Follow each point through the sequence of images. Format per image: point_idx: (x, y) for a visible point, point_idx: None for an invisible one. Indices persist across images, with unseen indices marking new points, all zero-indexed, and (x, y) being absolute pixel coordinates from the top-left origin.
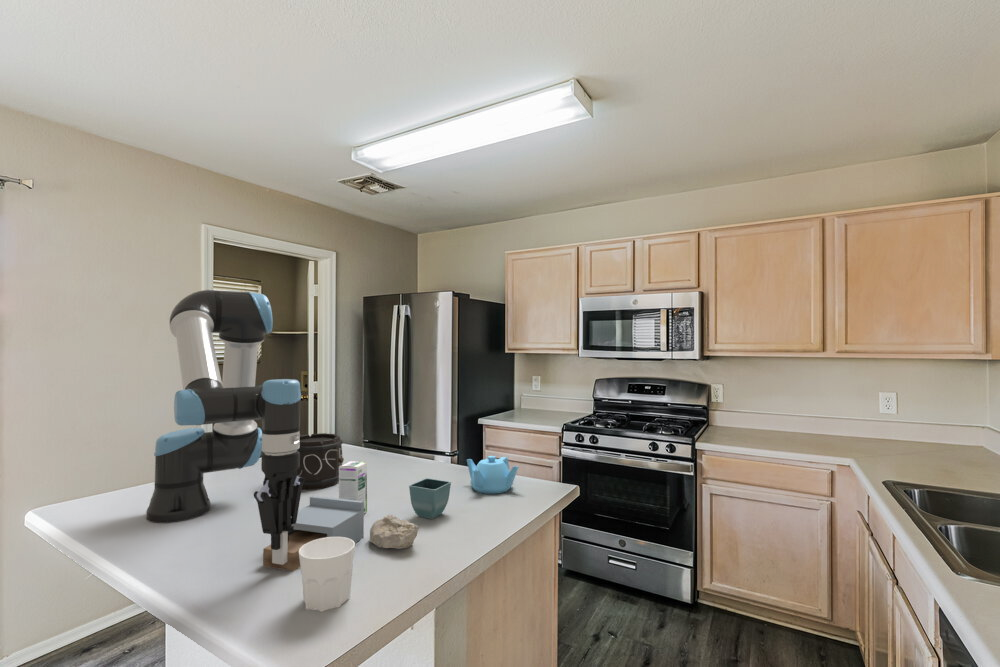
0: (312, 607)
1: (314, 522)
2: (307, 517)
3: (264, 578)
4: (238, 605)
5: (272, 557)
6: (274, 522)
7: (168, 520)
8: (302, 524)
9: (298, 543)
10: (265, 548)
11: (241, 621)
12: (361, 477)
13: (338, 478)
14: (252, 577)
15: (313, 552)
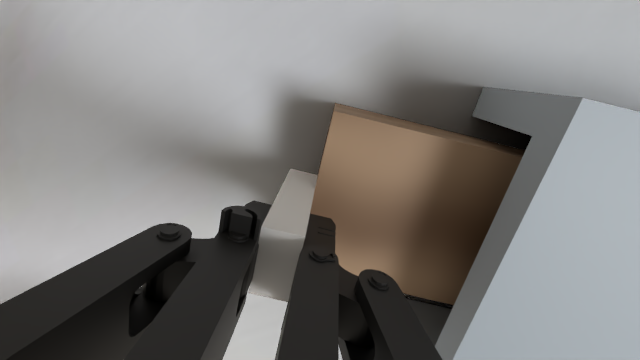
0: None
1: (506, 334)
2: (610, 271)
3: (240, 160)
4: (72, 169)
5: (287, 176)
6: (126, 349)
7: None
8: (488, 281)
9: (395, 246)
10: (336, 121)
11: (13, 221)
12: None
13: None
14: (240, 113)
15: None
